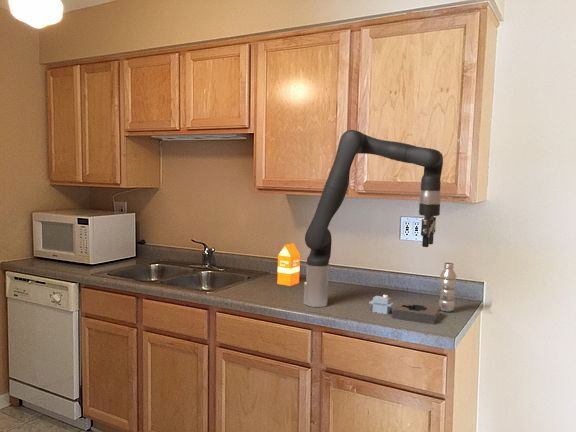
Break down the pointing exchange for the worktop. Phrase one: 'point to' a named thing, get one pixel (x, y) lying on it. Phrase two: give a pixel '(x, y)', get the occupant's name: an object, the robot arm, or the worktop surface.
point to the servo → (381, 304)
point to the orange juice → (288, 265)
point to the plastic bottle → (447, 288)
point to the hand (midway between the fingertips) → (427, 245)
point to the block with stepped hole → (416, 312)
